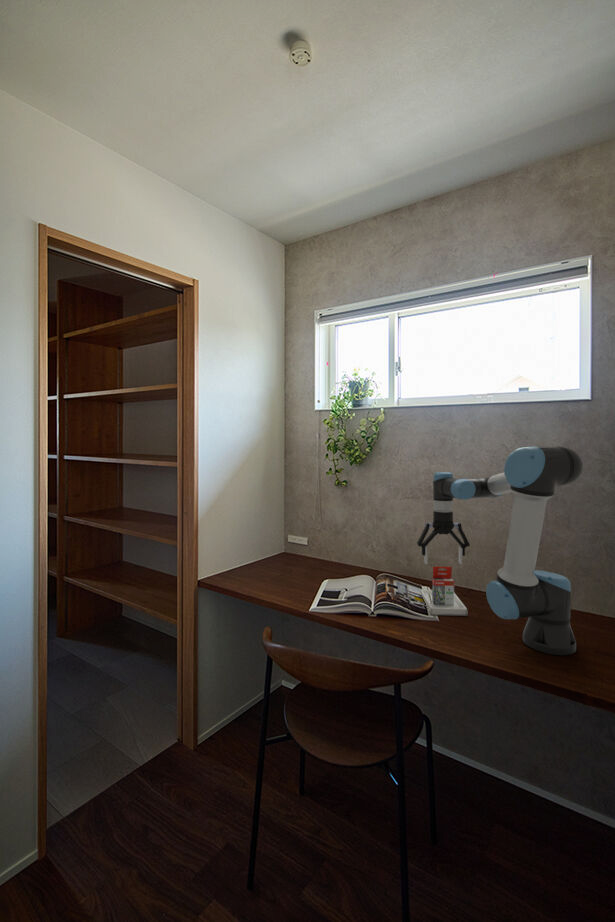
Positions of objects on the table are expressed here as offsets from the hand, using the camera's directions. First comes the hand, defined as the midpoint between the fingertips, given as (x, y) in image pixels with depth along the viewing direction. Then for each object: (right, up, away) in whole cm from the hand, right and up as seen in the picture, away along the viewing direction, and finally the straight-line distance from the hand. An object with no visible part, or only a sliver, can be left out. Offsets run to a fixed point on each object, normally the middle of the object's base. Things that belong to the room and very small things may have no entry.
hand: (443, 563), depth 174 cm
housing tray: (0, -17, +1) cm, 17 cm away
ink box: (0, -17, +1) cm, 17 cm away
